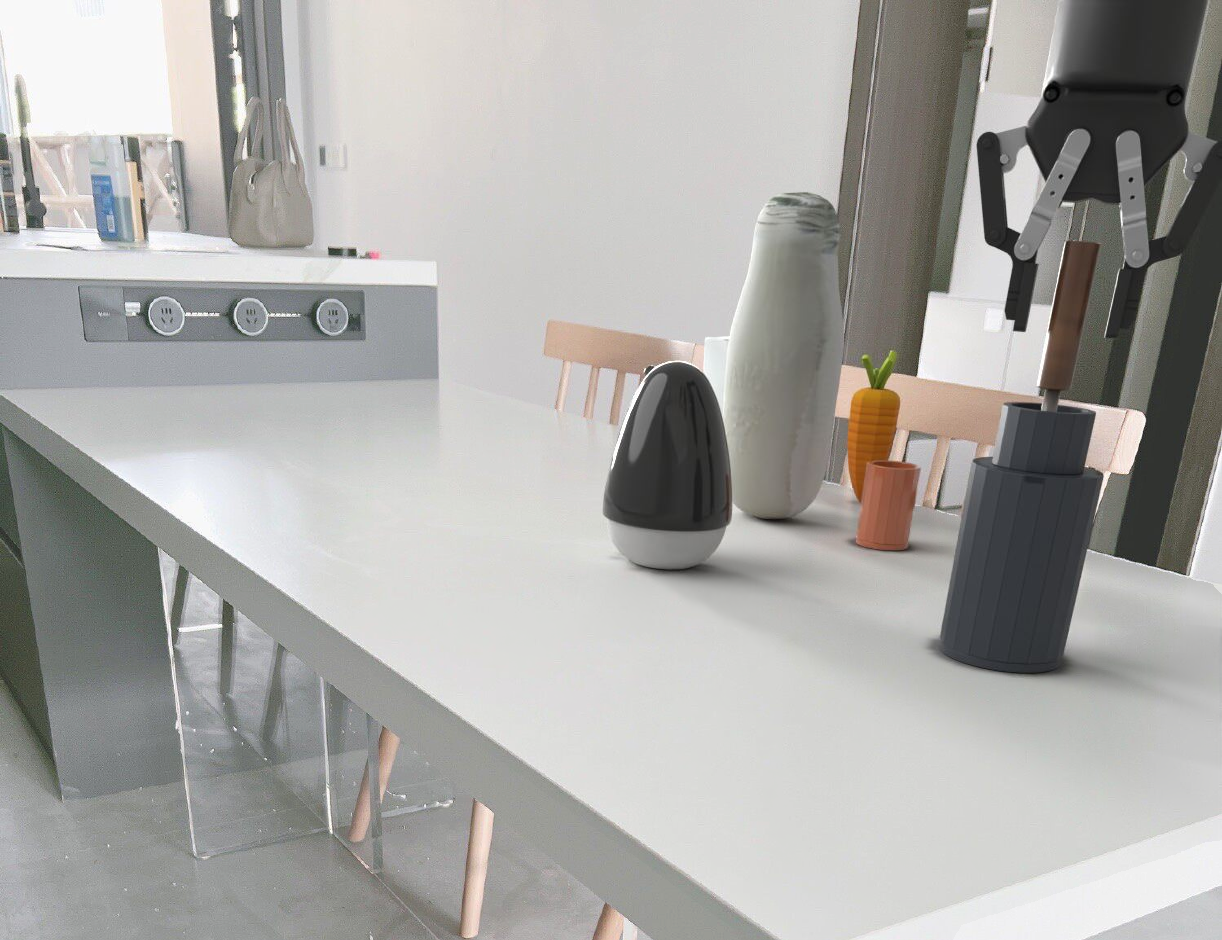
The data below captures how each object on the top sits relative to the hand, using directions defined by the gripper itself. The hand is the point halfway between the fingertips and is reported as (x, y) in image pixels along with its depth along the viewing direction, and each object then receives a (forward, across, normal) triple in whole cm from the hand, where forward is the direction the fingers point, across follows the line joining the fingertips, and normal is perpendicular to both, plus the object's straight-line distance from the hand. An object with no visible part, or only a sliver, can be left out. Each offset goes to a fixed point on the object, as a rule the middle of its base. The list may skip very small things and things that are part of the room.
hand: (1064, 333), depth 72 cm
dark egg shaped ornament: (+20, +27, -12) cm, 36 cm away
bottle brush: (+19, 0, 0) cm, 19 cm away
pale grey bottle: (+20, +24, -36) cm, 48 cm away
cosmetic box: (+20, +32, -56) cm, 68 cm away
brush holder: (+20, +12, -30) cm, 38 cm away
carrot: (+20, +17, -50) cm, 56 cm away
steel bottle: (+20, 0, 0) cm, 20 cm away
